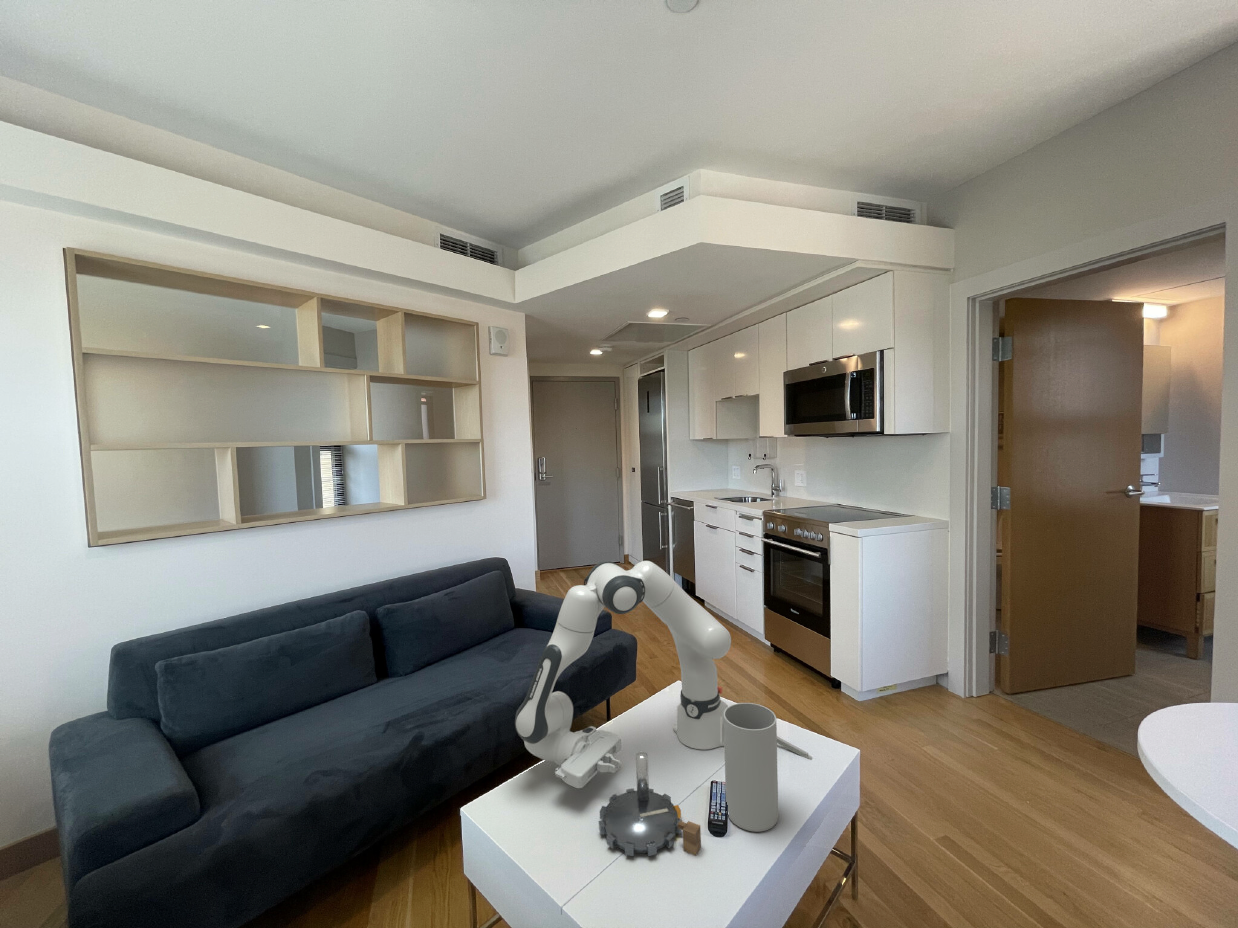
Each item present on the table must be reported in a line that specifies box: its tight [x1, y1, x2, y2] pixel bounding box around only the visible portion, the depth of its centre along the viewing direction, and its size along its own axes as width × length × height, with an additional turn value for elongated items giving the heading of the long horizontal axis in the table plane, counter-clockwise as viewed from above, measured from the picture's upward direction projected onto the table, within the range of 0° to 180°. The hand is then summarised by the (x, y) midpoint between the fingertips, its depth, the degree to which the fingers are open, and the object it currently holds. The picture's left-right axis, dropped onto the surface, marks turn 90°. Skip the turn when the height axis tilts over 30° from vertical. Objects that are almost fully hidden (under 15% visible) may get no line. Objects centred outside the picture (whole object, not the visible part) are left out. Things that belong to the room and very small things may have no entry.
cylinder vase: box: [723, 702, 779, 833], centre depth 127 cm, size 12×12×25 cm
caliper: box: [777, 736, 813, 761], centre depth 155 cm, size 20×1×6 cm, turn 51°
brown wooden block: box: [678, 820, 702, 856], centre depth 118 cm, size 3×5×5 cm, turn 58°
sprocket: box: [598, 751, 683, 857], centre depth 125 cm, size 20×20×13 cm
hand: (617, 767), depth 135 cm, fingers closed
